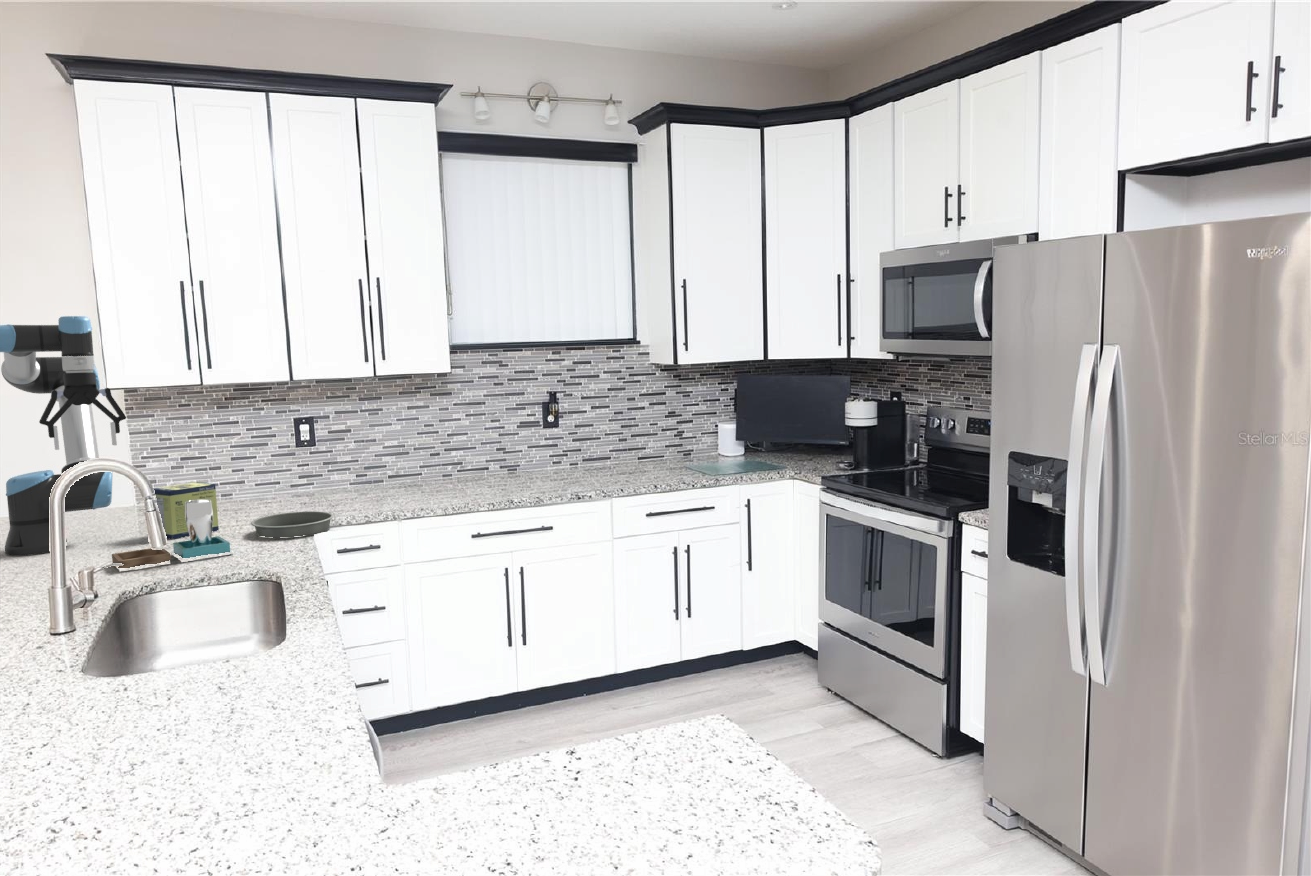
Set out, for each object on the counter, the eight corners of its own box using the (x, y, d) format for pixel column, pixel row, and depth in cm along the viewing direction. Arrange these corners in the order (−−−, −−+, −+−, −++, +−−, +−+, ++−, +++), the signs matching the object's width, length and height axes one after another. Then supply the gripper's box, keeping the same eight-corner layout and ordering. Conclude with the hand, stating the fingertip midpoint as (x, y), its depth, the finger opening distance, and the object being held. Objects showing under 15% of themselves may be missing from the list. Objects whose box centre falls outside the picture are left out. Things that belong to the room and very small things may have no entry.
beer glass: (203, 549, 247) (199, 498, 246) (221, 550, 245) (217, 499, 243) (182, 554, 241) (178, 502, 239) (200, 556, 238) (196, 503, 237)
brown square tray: (120, 572, 225) (119, 561, 224) (112, 564, 234) (111, 553, 233) (171, 564, 232) (170, 553, 232) (162, 556, 241) (161, 546, 241)
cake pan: (234, 540, 263) (233, 525, 262) (279, 524, 287) (278, 511, 287) (309, 540, 260) (308, 526, 259) (348, 524, 284) (347, 511, 283)
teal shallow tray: (181, 562, 234) (180, 550, 233) (171, 555, 243) (170, 542, 243) (232, 554, 242) (232, 542, 242) (221, 547, 252) (220, 535, 251)
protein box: (220, 530, 278) (216, 483, 276) (172, 540, 265) (168, 490, 263) (201, 527, 283) (197, 481, 282) (153, 536, 270) (149, 488, 268)
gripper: (25, 373, 227) (33, 452, 229) (133, 370, 243) (139, 444, 245) (22, 373, 232) (30, 450, 235) (128, 370, 249) (134, 442, 251)
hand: (86, 447), depth 240 cm, fingers open, 13 cm apart
